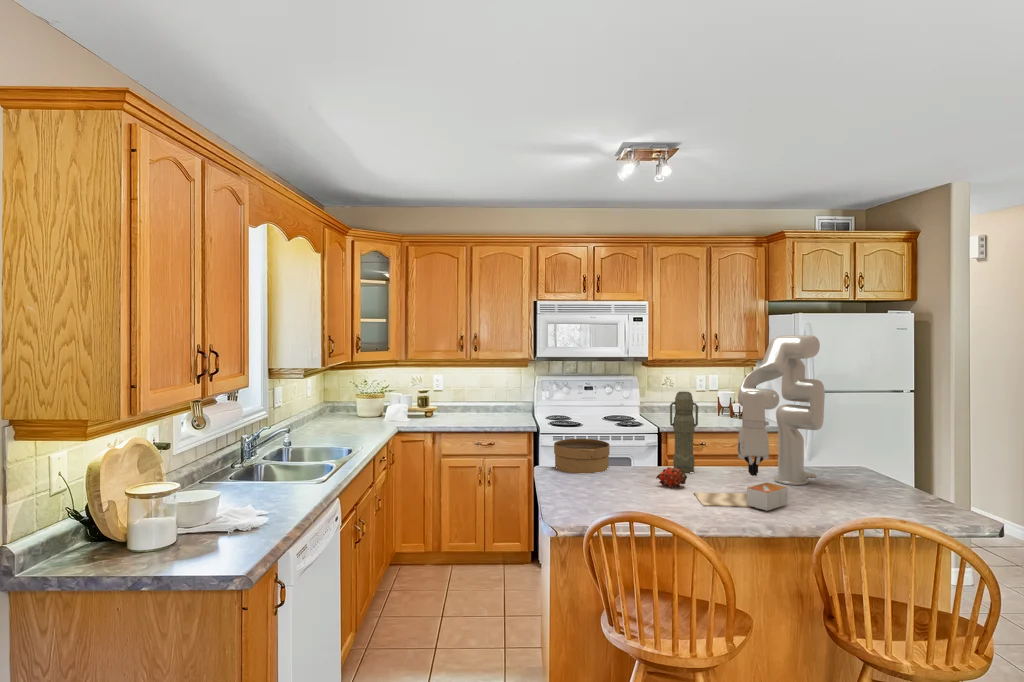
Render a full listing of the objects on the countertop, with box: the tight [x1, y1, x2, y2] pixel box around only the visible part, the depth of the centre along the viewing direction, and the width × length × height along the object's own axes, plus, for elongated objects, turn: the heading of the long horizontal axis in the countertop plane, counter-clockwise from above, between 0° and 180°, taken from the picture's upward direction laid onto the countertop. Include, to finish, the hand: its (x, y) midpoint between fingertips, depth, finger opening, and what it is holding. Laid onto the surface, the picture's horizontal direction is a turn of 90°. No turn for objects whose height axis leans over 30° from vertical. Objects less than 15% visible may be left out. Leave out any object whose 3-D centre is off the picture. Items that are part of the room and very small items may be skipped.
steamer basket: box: [553, 438, 610, 474], centre depth 273 cm, size 25×25×11 cm
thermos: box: [669, 391, 699, 474], centre depth 265 cm, size 9×12×35 cm
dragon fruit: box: [655, 466, 688, 489], centre depth 239 cm, size 8×8×12 cm
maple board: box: [693, 491, 752, 508], centre depth 219 cm, size 24×16×1 cm, turn 85°
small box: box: [746, 481, 789, 511], centre depth 212 cm, size 8×6×13 cm
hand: (753, 474), depth 219 cm, fingers closed
